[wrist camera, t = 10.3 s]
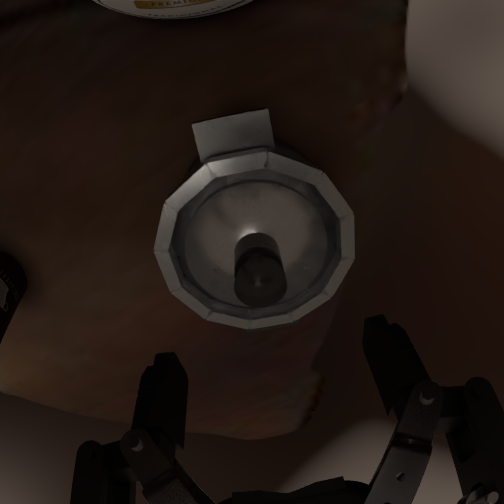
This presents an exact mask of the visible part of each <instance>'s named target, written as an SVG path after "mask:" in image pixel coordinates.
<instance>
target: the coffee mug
mask: <svg viewBox="0 0 504 504" xmlns="http://www.w3.org/2000/svg"><path fill="white" fill-rule="evenodd" d="M26 289H27V279H26V275H25V273H24V271H23V269H22V267H21V266H20V264H19V263H18V262H17V261H16V260H15V259H14V258H13V257H12V256H10V255H9V254H7V253H5V252H2V251H0V343H1V341H2V338H3V336H4V334H5V332H6V329H7V327H8V325H9V323H10V321H11V319H12V317H13V314H14V312H15V310H16V308H17V306H18V304H19V302H20V300H21V298H22V297H23V295H24V293H25V291H26Z"/></svg>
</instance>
